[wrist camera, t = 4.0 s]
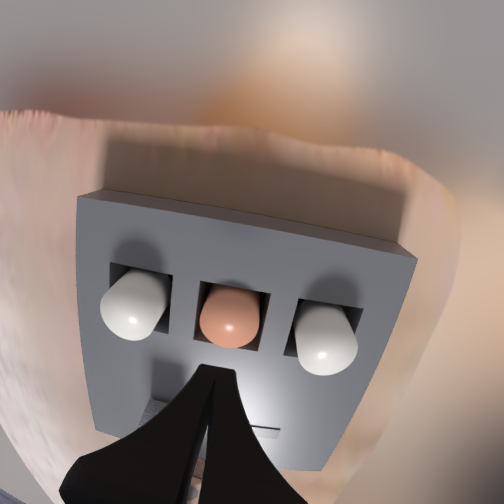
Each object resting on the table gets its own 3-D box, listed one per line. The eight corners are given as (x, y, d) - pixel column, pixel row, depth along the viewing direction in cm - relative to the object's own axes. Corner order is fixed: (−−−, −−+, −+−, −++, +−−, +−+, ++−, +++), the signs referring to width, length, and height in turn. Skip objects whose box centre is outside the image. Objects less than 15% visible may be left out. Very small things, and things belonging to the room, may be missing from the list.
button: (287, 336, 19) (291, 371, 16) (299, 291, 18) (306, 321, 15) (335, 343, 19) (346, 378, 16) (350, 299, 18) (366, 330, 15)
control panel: (108, 406, 23) (95, 430, 20) (102, 189, 18) (76, 197, 15) (317, 444, 24) (321, 472, 21) (397, 242, 18) (418, 259, 15)
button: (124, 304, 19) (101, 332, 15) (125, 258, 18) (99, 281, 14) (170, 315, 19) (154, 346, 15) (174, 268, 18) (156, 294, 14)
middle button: (207, 312, 20) (196, 342, 17) (213, 267, 19) (203, 291, 16) (254, 321, 20) (253, 352, 17) (264, 277, 19) (264, 303, 16)
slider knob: (150, 427, 19) (137, 460, 16) (149, 398, 18) (134, 433, 15) (183, 435, 19) (174, 469, 16) (185, 407, 19) (175, 444, 15)
